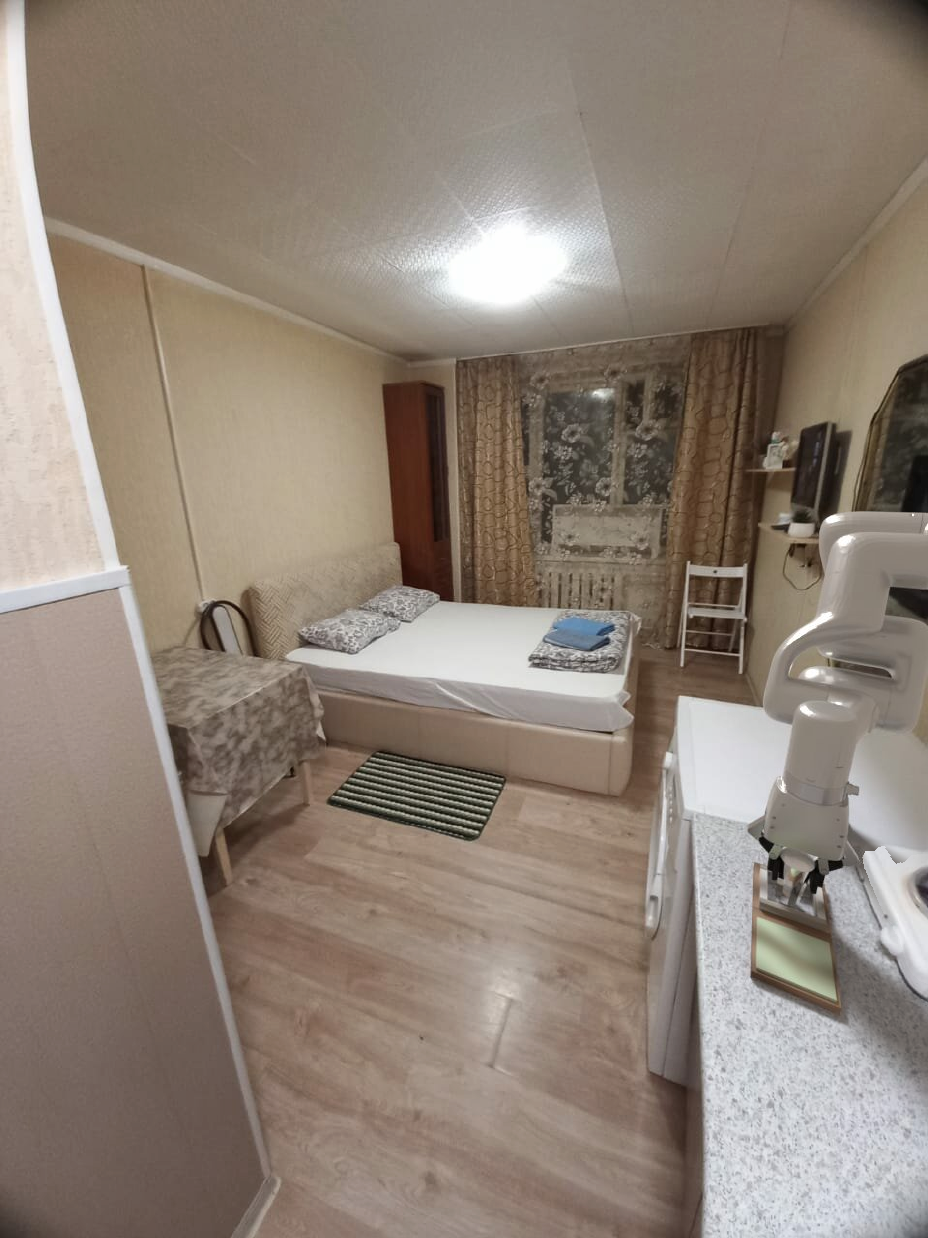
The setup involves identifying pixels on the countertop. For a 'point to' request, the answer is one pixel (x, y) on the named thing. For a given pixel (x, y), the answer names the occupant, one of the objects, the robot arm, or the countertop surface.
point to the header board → (793, 945)
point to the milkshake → (793, 875)
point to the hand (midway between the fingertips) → (793, 879)
